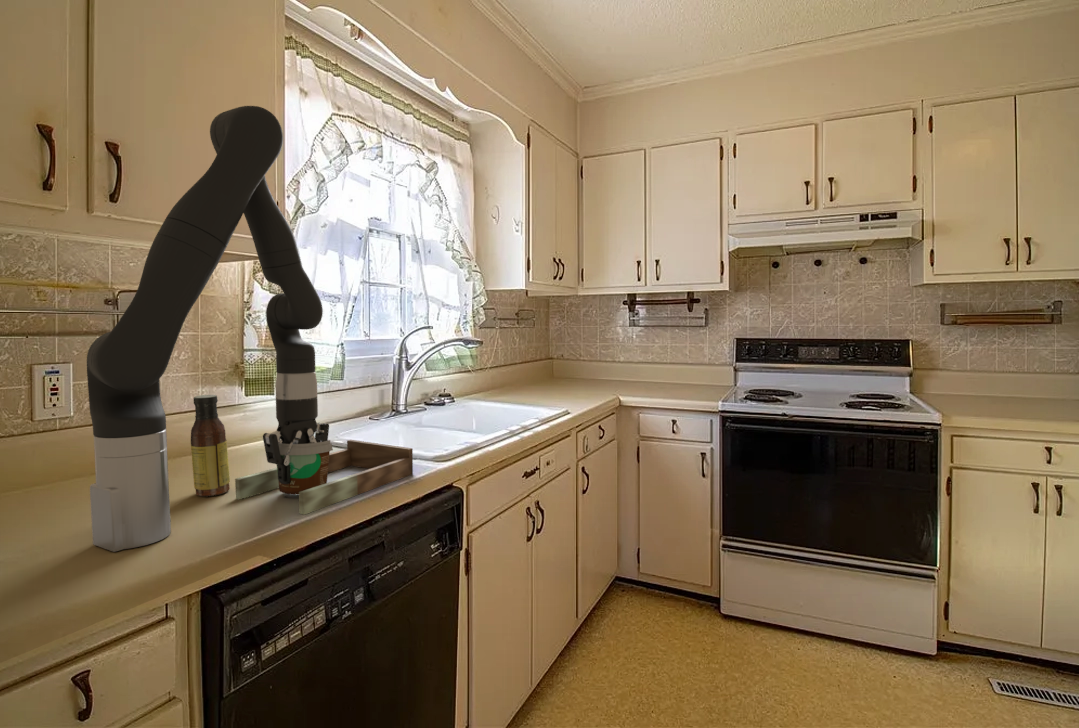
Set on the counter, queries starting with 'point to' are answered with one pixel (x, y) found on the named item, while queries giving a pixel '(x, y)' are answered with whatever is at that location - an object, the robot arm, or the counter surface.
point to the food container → (306, 465)
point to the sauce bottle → (209, 449)
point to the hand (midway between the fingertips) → (298, 479)
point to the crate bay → (382, 470)
